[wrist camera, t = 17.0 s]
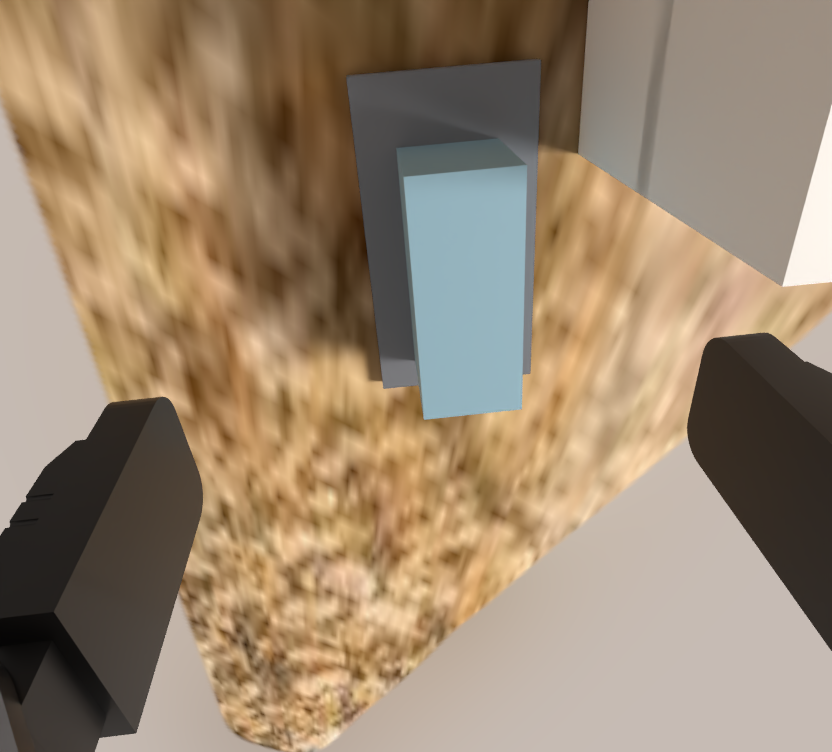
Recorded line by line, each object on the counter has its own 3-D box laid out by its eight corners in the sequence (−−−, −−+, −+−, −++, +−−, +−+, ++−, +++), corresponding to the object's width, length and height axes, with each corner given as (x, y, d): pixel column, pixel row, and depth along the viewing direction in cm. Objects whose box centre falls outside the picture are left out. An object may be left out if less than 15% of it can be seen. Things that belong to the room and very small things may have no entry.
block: (396, 148, 29) (403, 176, 24) (498, 138, 29) (527, 165, 24) (414, 360, 35) (424, 419, 30) (498, 351, 35) (521, 409, 30)
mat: (346, 75, 28) (346, 76, 27) (536, 58, 28) (541, 59, 27) (383, 381, 37) (383, 388, 36) (527, 367, 37) (530, 373, 36)
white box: (591, -35, 26) (886, -98, 11) (820, -54, 27) (1397, -139, 12) (578, 153, 30) (782, 286, 16) (776, 135, 31) (1160, 249, 16)
